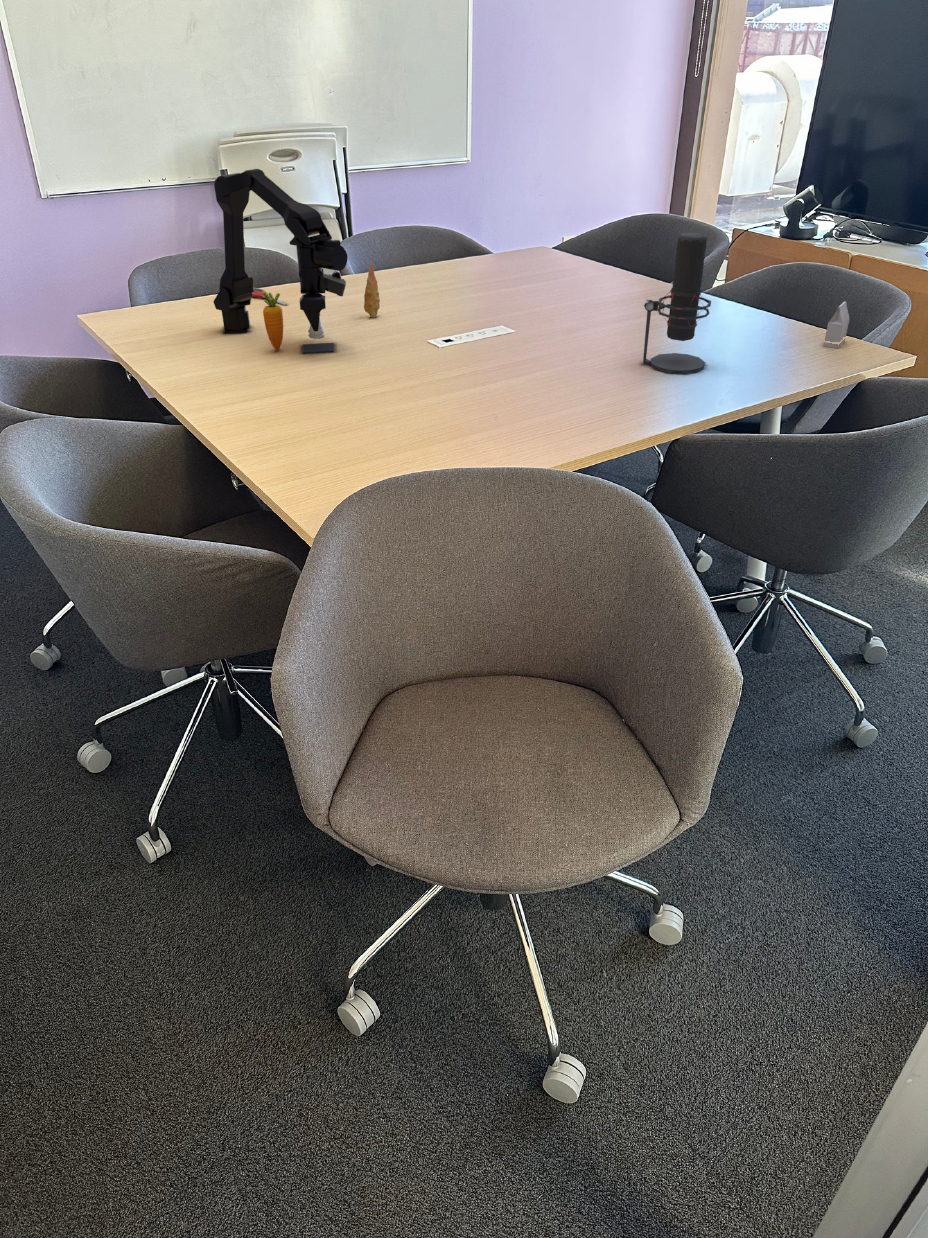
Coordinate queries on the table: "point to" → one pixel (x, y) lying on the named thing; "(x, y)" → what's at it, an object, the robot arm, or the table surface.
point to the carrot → (273, 320)
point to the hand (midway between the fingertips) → (316, 328)
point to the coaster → (318, 348)
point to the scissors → (259, 294)
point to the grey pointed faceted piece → (837, 327)
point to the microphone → (681, 305)
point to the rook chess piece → (316, 332)
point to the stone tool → (371, 294)
